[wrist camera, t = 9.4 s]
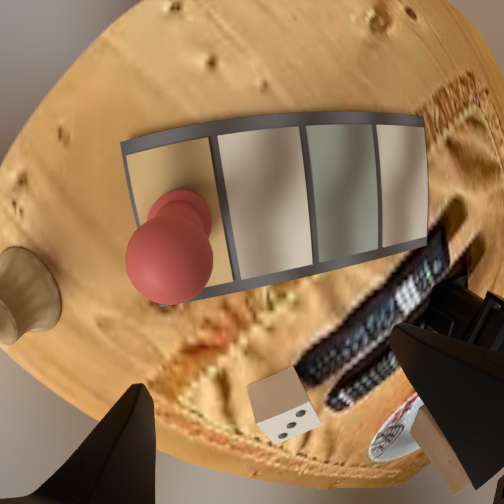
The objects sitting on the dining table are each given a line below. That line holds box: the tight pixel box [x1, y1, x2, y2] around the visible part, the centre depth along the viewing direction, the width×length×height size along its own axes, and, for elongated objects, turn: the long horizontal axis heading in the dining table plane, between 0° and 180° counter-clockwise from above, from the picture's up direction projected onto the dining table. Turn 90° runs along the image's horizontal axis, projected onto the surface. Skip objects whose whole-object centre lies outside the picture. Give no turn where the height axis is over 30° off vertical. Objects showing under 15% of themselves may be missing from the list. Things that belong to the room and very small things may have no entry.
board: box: [120, 112, 428, 307], centre depth 19 cm, size 24×12×1 cm, turn 98°
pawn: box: [126, 189, 213, 305], centre depth 13 cm, size 4×4×9 cm
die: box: [247, 366, 322, 444], centre depth 24 cm, size 5×5×5 cm
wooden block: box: [410, 405, 472, 496], centre depth 29 cm, size 10×10×20 cm
